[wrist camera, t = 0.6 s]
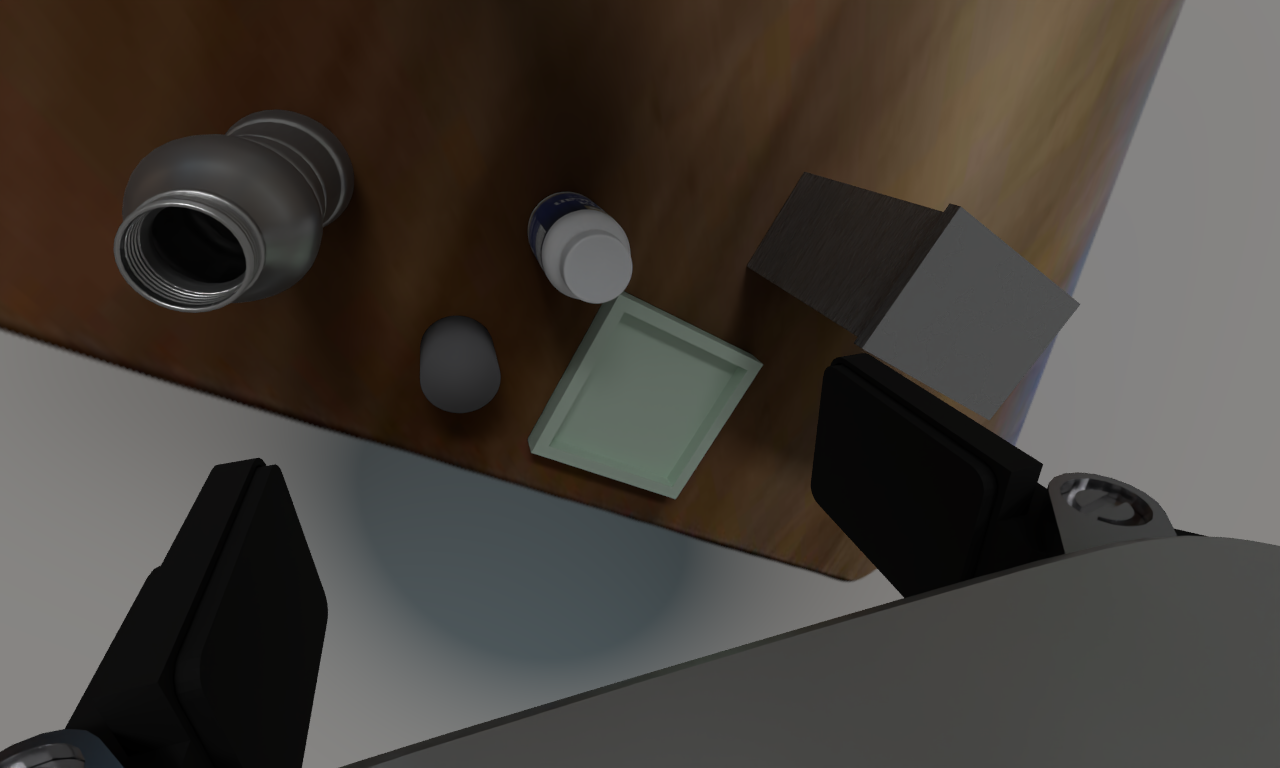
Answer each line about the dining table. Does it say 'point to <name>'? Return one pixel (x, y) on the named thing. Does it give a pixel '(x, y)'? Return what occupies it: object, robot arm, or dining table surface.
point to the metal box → (916, 287)
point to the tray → (642, 397)
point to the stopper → (458, 365)
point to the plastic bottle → (232, 211)
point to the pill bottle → (580, 247)
